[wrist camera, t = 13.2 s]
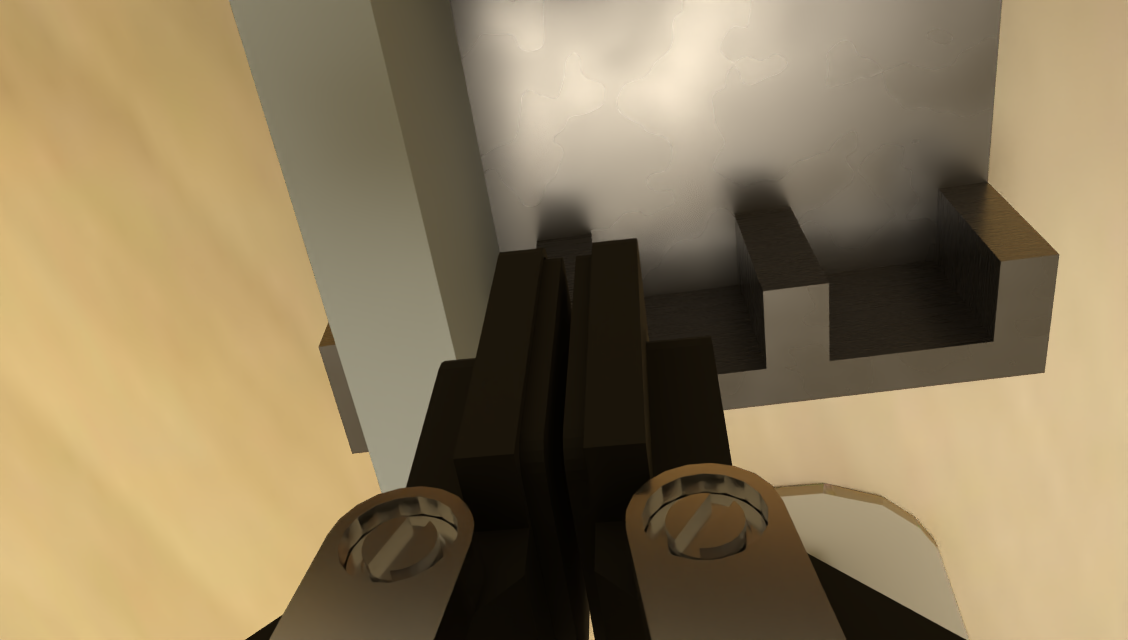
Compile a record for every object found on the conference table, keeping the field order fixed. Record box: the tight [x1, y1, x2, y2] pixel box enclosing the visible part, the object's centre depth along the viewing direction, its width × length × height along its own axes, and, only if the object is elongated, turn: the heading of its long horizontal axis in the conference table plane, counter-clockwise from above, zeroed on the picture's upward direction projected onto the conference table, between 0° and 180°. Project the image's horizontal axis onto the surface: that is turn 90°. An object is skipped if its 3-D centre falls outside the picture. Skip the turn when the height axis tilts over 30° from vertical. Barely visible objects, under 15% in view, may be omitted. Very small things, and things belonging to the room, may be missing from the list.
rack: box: [319, 0, 1059, 454], centre depth 21 cm, size 16×14×5 cm
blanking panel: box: [229, 0, 500, 493], centre depth 19 cm, size 2×11×8 cm, turn 8°
